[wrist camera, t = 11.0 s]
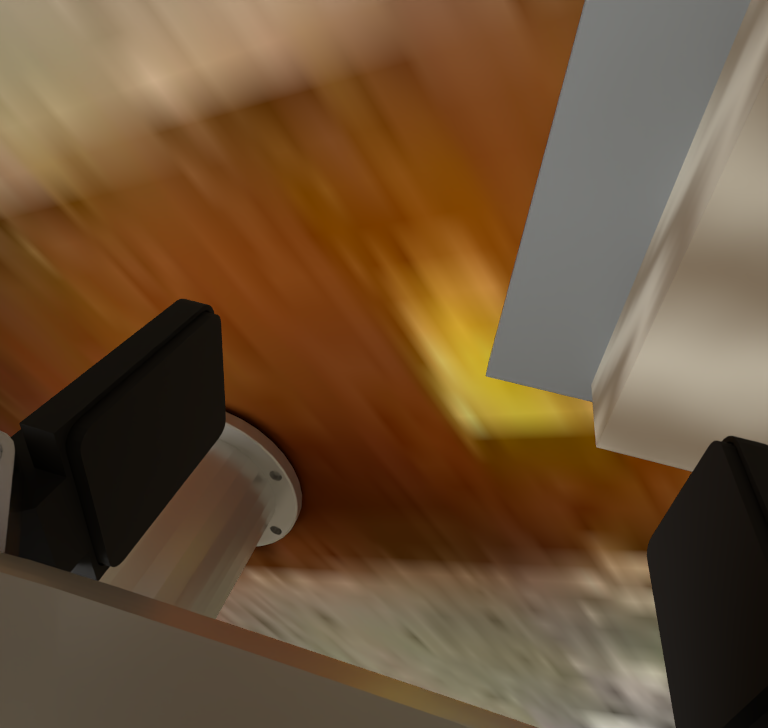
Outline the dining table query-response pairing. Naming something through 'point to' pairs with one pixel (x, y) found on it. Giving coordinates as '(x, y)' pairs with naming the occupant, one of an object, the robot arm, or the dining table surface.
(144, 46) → the dining table surface
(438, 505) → the dining table surface
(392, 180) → the dining table surface
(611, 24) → the floor panel
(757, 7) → the ash plank
